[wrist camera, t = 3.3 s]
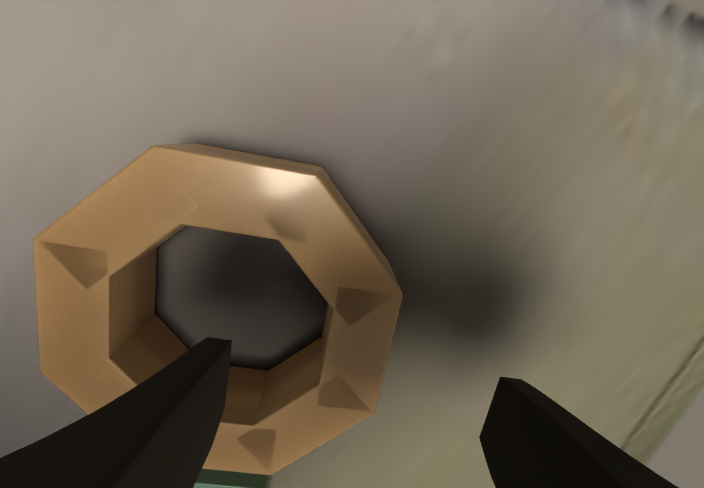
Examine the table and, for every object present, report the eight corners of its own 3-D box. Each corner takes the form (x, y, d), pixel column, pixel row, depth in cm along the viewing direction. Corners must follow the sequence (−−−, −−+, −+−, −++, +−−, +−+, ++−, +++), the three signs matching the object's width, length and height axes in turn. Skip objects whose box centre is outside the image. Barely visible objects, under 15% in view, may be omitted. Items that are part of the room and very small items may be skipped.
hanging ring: (100, 392, 15) (43, 453, 12) (99, 125, 12) (25, 121, 9) (353, 421, 16) (357, 484, 13) (407, 181, 13) (427, 194, 10)
